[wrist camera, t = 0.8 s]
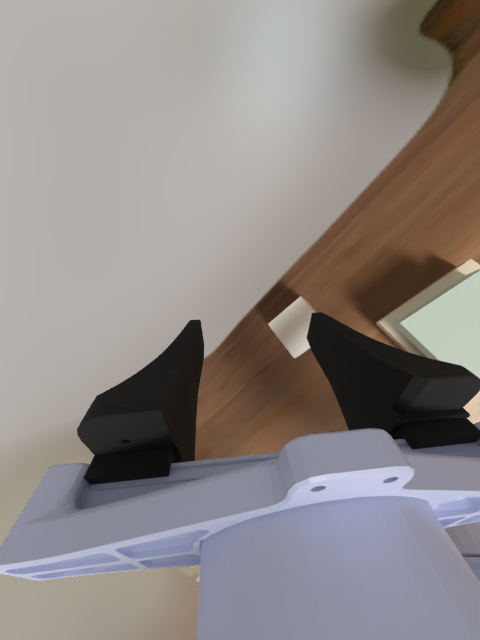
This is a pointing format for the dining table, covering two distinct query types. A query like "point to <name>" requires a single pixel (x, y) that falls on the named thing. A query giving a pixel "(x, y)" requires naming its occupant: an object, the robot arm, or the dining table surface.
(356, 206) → the dining table surface
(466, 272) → the birch slab
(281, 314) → the ivory cube
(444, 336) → the sage block
